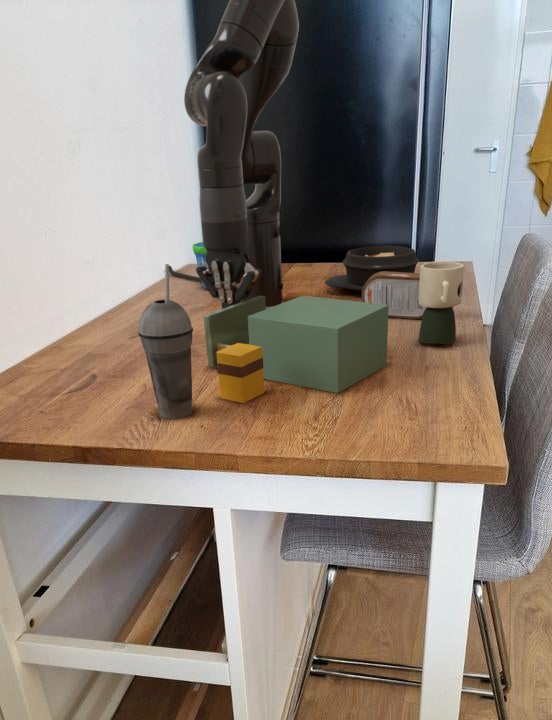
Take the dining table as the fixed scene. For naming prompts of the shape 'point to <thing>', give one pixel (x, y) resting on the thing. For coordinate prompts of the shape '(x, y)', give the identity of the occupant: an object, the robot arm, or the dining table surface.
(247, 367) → the snack box
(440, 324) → the character mug
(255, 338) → the cabinet
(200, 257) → the snack cup
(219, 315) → the drawer
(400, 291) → the tin
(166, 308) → the beverage cup
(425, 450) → the dining table surface
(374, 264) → the casserole
